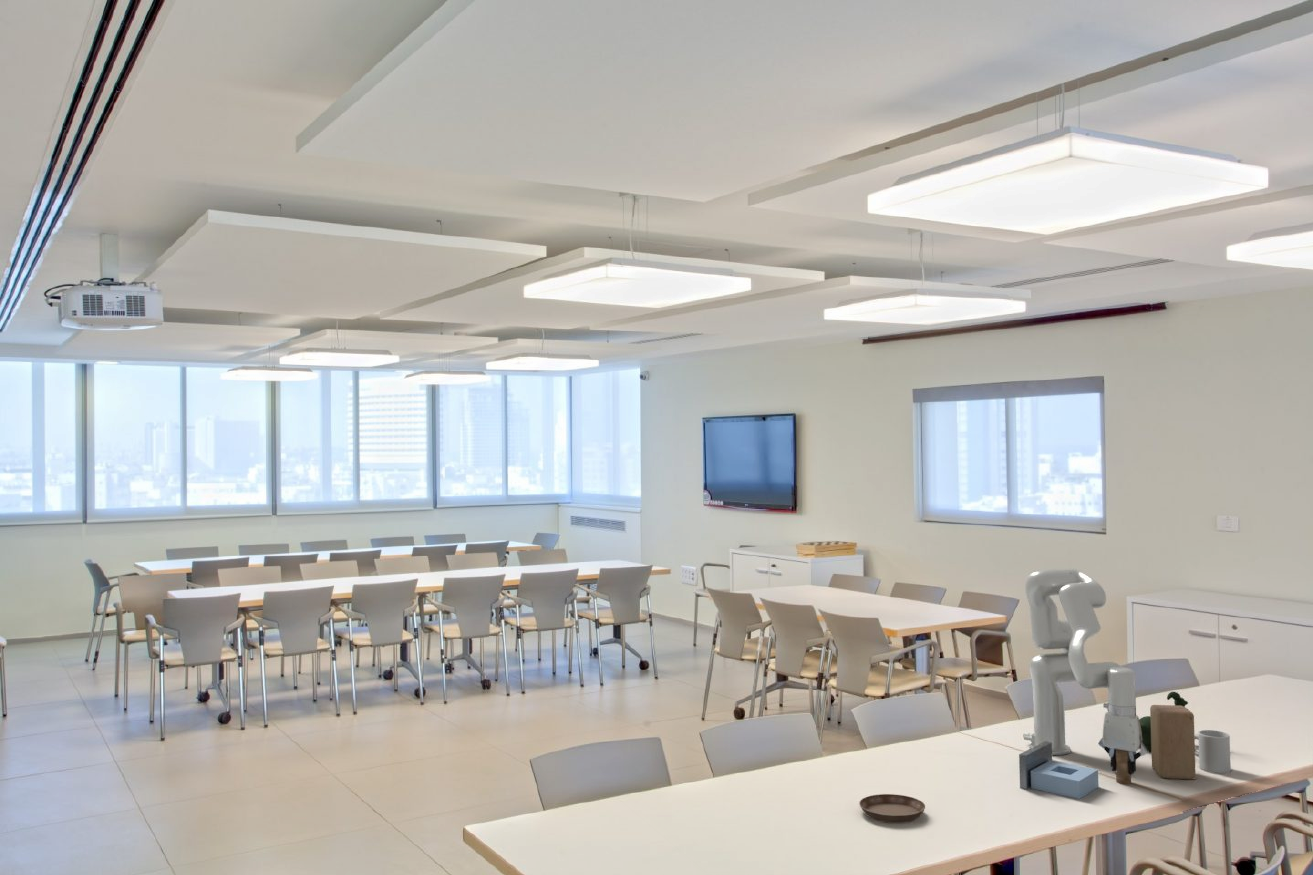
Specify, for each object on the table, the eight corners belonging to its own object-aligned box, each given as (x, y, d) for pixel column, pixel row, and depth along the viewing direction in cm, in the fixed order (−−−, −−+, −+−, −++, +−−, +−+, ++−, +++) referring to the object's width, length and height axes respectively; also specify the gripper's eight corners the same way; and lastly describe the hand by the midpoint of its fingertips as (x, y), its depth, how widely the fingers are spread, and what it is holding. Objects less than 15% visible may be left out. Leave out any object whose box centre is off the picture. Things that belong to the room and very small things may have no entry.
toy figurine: (1169, 744, 338) (1121, 749, 326) (1170, 688, 339) (1123, 690, 327) (1195, 751, 330) (1147, 756, 318) (1197, 693, 331) (1149, 696, 319)
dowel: (1114, 782, 295) (1113, 741, 295) (1119, 779, 298) (1118, 739, 298) (1128, 785, 292) (1127, 744, 292) (1133, 782, 295) (1132, 741, 295)
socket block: (1031, 787, 291) (1030, 770, 291) (1051, 776, 301) (1050, 759, 301) (1079, 798, 281) (1078, 781, 281) (1098, 786, 291) (1098, 769, 291)
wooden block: (1196, 780, 296) (1194, 713, 296) (1160, 778, 298) (1158, 711, 298) (1186, 770, 306) (1184, 704, 306) (1151, 768, 308) (1149, 703, 308)
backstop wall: (1019, 788, 291) (1019, 754, 292) (1046, 773, 304) (1045, 741, 304) (1026, 789, 290) (1025, 755, 290) (1052, 775, 303) (1051, 742, 303)
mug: (1236, 770, 304) (1235, 734, 304) (1219, 775, 300) (1218, 738, 300) (1199, 760, 315) (1198, 725, 315) (1182, 764, 311) (1181, 729, 311)
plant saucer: (846, 809, 277) (846, 798, 277) (898, 800, 284) (898, 789, 284) (885, 830, 261) (885, 819, 261) (939, 820, 268) (939, 808, 268)
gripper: (1088, 707, 298) (1089, 768, 298) (1147, 717, 287) (1148, 781, 286) (1098, 702, 304) (1099, 762, 303) (1156, 712, 292) (1157, 774, 292)
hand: (1123, 771), depth 295 cm, fingers closed on dowel, 4 cm apart
